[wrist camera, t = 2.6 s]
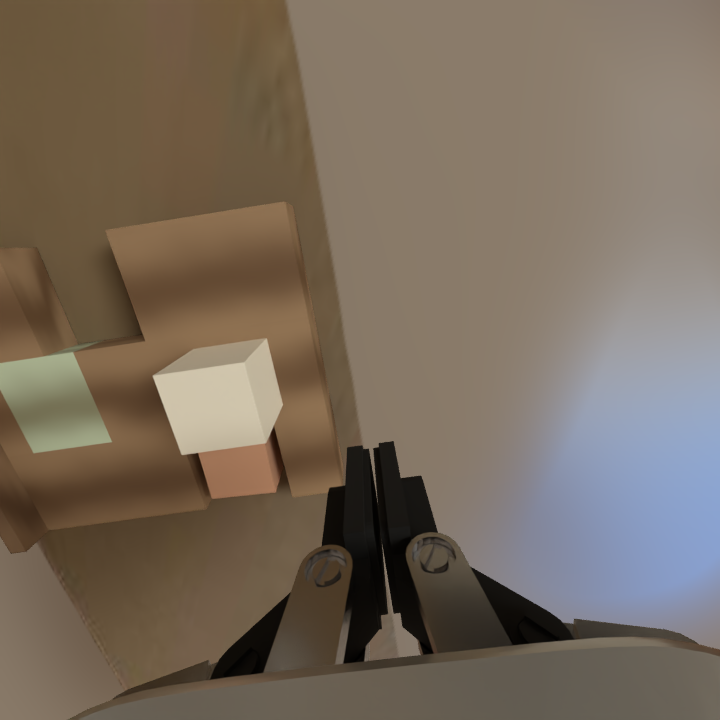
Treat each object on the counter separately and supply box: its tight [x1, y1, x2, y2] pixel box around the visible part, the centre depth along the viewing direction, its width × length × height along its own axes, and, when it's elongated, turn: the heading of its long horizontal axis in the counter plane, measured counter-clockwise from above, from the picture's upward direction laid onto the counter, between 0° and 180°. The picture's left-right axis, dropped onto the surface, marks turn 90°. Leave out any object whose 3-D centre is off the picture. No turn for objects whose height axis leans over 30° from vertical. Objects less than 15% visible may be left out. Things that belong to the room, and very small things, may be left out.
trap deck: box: [0, 201, 343, 554], centre depth 24 cm, size 21×25×5 cm
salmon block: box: [198, 426, 284, 499], centre depth 27 cm, size 5×5×4 cm
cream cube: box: [153, 338, 283, 455], centre depth 21 cm, size 5×5×5 cm
